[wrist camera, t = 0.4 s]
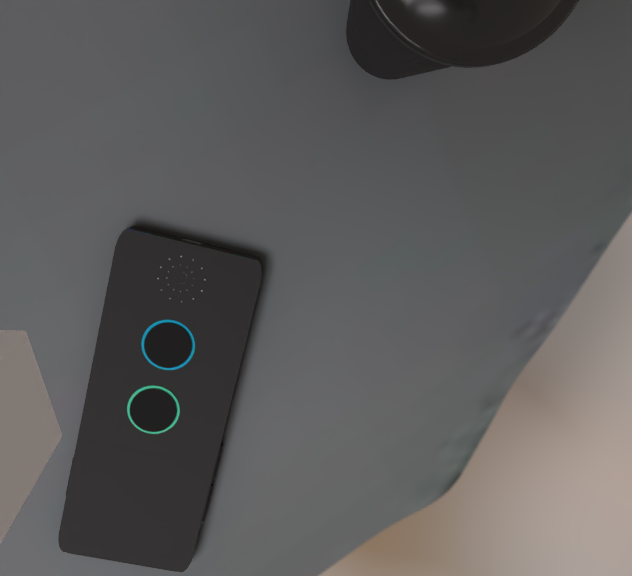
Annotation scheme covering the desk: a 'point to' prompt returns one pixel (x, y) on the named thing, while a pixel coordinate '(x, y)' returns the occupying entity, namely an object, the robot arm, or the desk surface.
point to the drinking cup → (447, 32)
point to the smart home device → (158, 399)
